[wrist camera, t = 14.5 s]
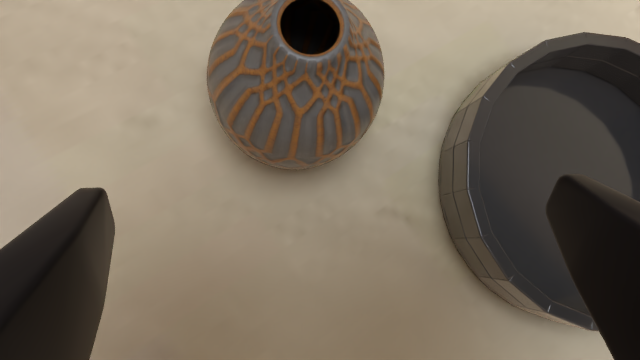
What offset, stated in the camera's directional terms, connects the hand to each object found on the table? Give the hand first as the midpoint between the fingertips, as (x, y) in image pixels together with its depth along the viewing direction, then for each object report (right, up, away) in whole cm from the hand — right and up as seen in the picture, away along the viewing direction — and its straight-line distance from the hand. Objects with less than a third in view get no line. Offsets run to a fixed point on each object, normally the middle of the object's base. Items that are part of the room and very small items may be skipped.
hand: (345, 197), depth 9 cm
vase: (-2, +4, +13) cm, 14 cm away
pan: (+12, 0, +15) cm, 19 cm away
